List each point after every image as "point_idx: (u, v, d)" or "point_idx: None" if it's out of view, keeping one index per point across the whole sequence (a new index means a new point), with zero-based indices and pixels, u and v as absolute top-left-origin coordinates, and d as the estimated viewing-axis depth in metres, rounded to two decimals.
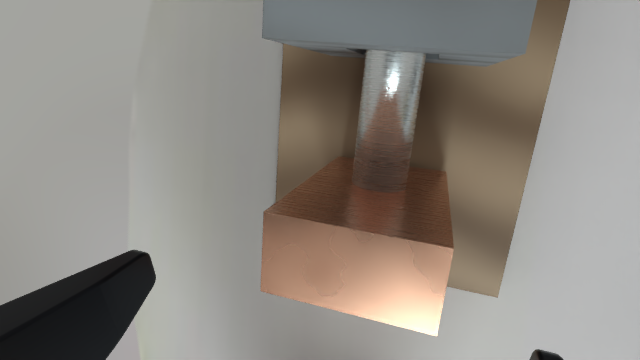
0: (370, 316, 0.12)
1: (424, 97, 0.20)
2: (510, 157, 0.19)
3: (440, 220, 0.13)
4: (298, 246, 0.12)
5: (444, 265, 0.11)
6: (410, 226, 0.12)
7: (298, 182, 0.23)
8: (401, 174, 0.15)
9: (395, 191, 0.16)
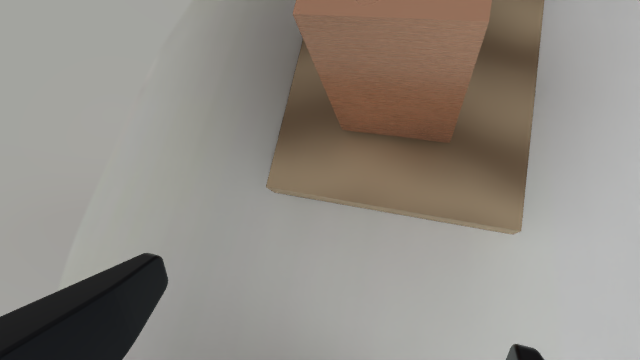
0: (414, 15, 0.11)
1: None
2: (516, 83, 0.20)
3: None
4: None
5: None
6: None
7: (306, 115, 0.23)
8: None
9: None
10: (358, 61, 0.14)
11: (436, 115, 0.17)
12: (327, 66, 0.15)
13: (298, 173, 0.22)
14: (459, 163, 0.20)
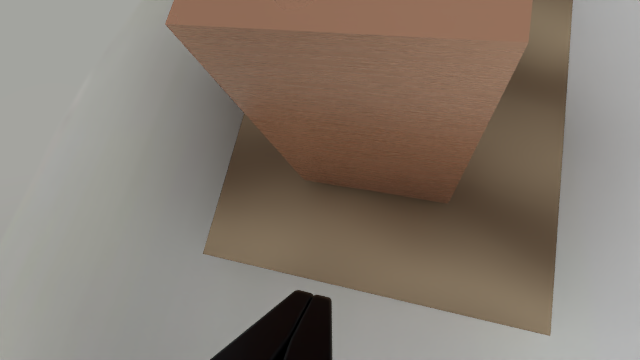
0: (380, 28, 0.06)
1: None
2: (537, 122, 0.15)
3: None
4: None
5: None
6: None
7: (260, 157, 0.17)
8: None
9: None
10: (299, 102, 0.09)
11: (428, 174, 0.12)
12: (256, 107, 0.09)
13: (245, 236, 0.16)
14: (460, 232, 0.15)
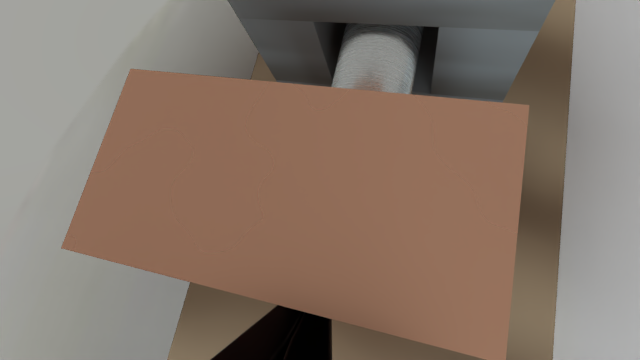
0: (315, 304, 0.04)
1: None
2: (528, 257, 0.14)
3: None
4: (177, 132, 0.06)
5: (510, 147, 0.04)
6: None
7: None
8: None
9: None
10: None
11: None
12: None
13: None
14: None
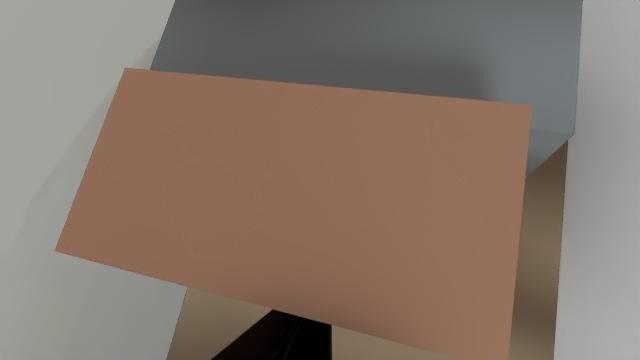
0: (314, 309, 0.04)
1: None
2: None
3: None
4: (173, 133, 0.05)
5: (511, 148, 0.04)
6: None
7: None
8: None
9: None
10: None
11: None
12: None
13: None
14: None
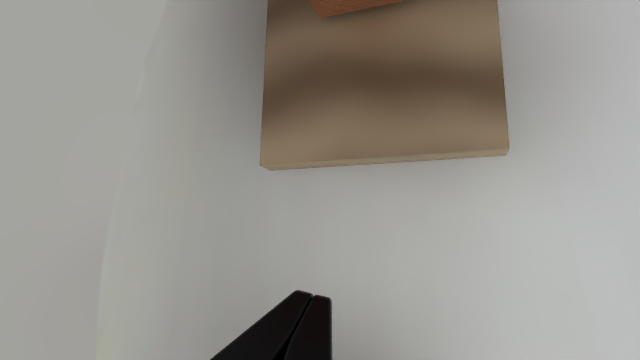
0: None
1: None
2: (477, 6, 0.20)
3: None
4: None
5: None
6: None
7: (284, 89, 0.24)
8: None
9: None
10: None
11: None
12: None
13: (287, 145, 0.23)
14: (436, 98, 0.20)
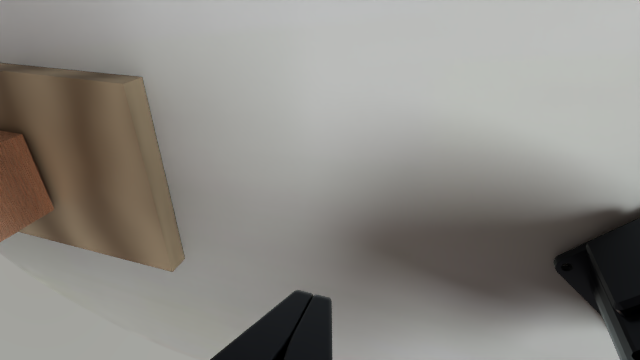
0: None
1: None
2: (21, 88, 0.23)
3: None
4: None
5: None
6: None
7: (114, 243, 0.28)
8: None
9: None
10: None
11: None
12: None
13: (154, 249, 0.27)
14: (97, 133, 0.23)
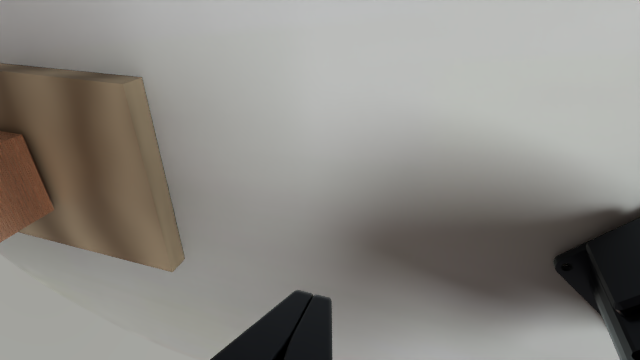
0: None
1: None
2: (21, 88, 0.23)
3: None
4: None
5: None
6: None
7: (114, 243, 0.28)
8: None
9: None
10: None
11: None
12: None
13: (154, 250, 0.27)
14: (96, 133, 0.23)
